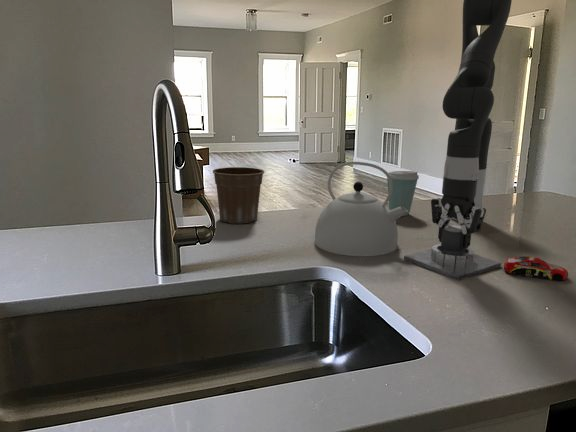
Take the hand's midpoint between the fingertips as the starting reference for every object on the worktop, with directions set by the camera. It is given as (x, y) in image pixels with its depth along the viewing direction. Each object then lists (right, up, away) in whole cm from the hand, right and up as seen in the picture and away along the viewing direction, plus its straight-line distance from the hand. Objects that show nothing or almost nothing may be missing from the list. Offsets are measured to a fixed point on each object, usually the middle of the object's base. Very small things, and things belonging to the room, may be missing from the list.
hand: (453, 244), depth 114 cm
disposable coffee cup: (-1, +8, +50) cm, 50 cm away
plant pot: (-56, +6, +39) cm, 69 cm away
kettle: (-20, -1, +16) cm, 26 cm away
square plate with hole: (0, -5, +1) cm, 5 cm away
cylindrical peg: (0, -1, 0) cm, 1 cm away
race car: (+17, -7, -5) cm, 19 cm away
